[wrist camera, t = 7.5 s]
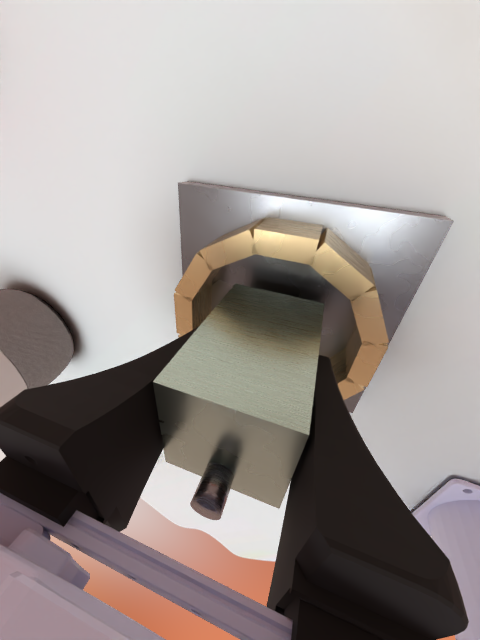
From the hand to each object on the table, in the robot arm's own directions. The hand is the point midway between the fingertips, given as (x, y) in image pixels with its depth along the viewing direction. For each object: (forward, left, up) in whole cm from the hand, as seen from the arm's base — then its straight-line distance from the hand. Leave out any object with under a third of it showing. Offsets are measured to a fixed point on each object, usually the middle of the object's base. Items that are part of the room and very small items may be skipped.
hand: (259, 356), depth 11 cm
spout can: (0, 0, -2) cm, 3 cm away
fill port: (0, 0, -5) cm, 5 cm away
